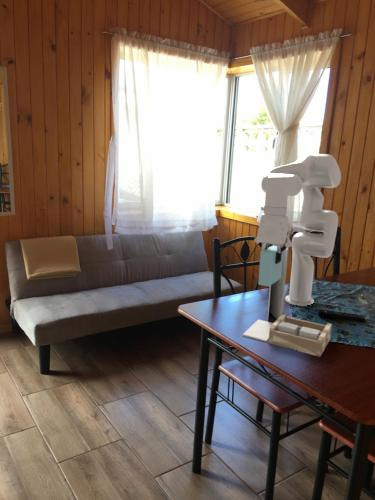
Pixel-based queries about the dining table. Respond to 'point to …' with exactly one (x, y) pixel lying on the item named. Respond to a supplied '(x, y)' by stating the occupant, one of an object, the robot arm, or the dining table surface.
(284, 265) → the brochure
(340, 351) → the dining table surface
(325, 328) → the crate
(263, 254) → the teal rectangular block
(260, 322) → the mat
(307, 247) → the robot arm
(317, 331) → the offcut
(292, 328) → the offcut
